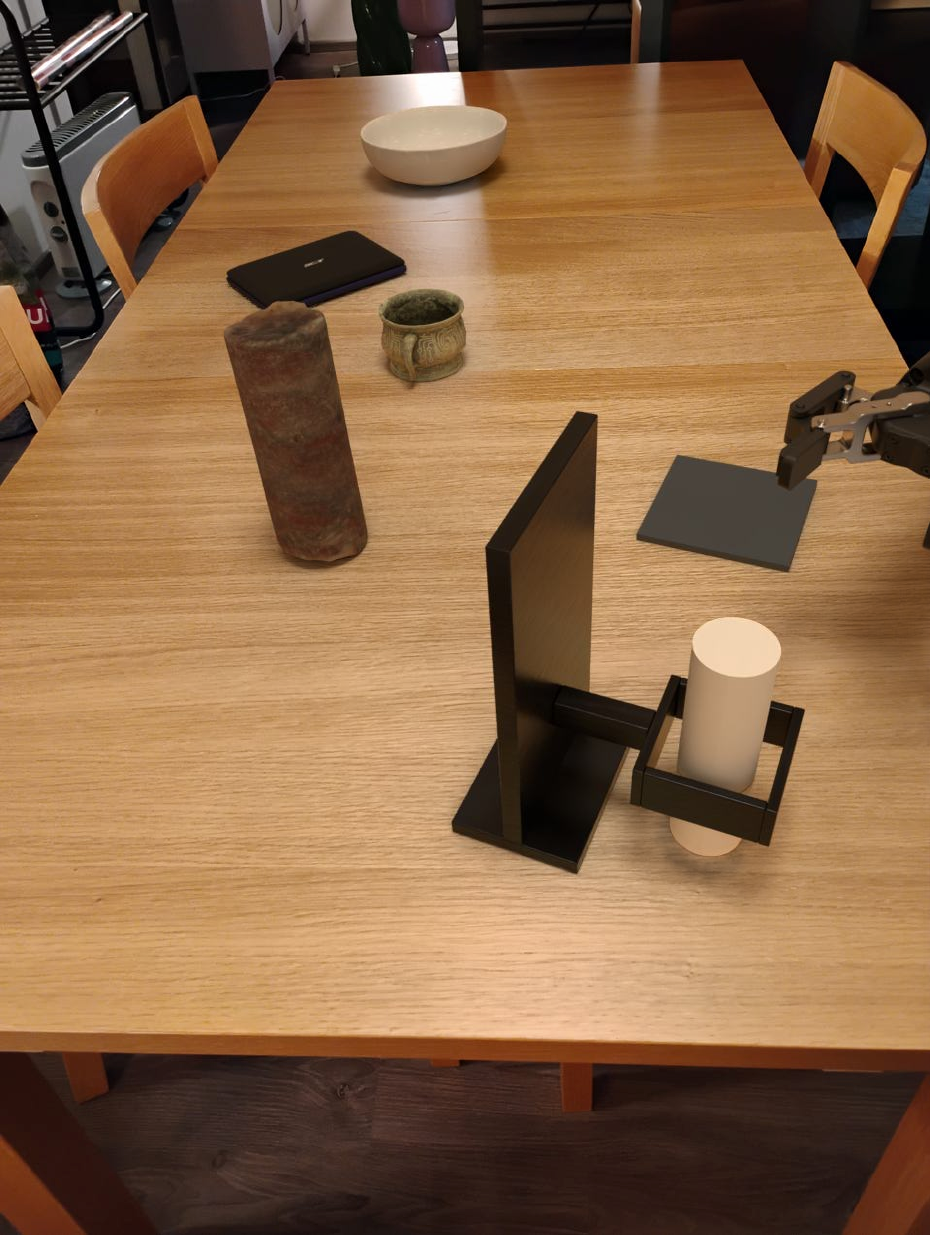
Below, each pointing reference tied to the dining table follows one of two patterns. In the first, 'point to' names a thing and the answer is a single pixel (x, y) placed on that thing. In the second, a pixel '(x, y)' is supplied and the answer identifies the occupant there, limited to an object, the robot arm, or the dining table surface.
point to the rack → (579, 690)
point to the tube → (725, 717)
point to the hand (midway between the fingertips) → (855, 505)
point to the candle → (298, 430)
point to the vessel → (423, 333)
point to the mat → (728, 512)
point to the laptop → (316, 270)
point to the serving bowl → (434, 143)
